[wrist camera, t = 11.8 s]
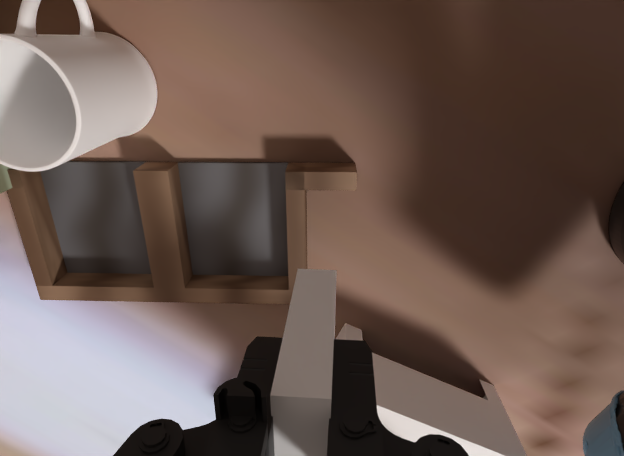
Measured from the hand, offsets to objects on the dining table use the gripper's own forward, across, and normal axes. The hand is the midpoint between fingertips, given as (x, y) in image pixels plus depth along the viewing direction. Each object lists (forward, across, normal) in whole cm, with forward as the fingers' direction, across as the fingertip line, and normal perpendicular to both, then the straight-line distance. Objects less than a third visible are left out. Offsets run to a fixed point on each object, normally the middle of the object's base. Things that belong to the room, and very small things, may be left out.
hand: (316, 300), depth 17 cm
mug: (+23, +19, -8) cm, 31 cm away
